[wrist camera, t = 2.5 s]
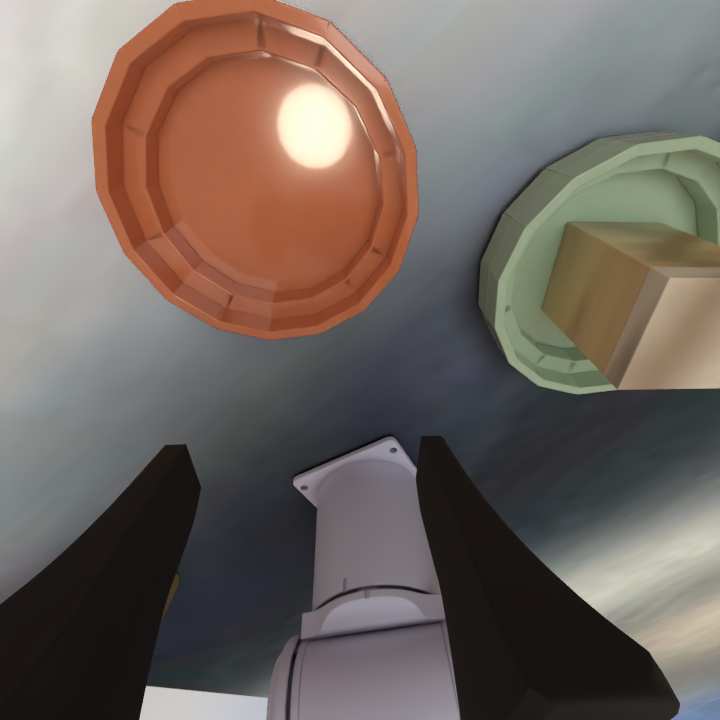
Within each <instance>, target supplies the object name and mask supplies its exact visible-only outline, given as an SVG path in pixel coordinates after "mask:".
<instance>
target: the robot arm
mask: <svg viewBox="0 0 720 720" xmlns="http://www.w3.org/2000/svg"><path fill="white" fill-rule="evenodd" d="M391 448H394V449H391ZM293 485H294V486H295V487H296V488H297V489H298V490H299V491H300V492H301V493H302V494H303V495H304V496H305V497H306V498H307V499H308V500H309V501H310V502H311V503H312V504H313V505H314V506H315V507H316V508H317V523H316V544H315V565H314V586H313V607H312V611H311V612H307V613H303V614H302V627H301V635H298V636H294V637H292V638H290V639H289V640H288V642H287V643H286V645H285V647H284V649H283V651H282V652H281V654H280V655H279V657H278V659H277V661H276V664H275V667H274V670H273V674H272V678H271V683H270V689H269V696H268V706H267V720H670V719H672V718H673V717H674V716H675V715H677V714H678V711H679V707H680V703H679V701H678V699H677V697H676V696H675V694H674V692H673V690H672V688H671V686H670V685H669V683H668V681H667V679H666V678H665V676H664V674H663V673H662V671H661V669H660V668H659V667H658V665H657V664H656V662H655V661H654V659H653V658H652V656H651V654H650V653H649V651H647V650H646V649H645V648H643V647H642V646H641V645H639V644H638V643H637V642H636V641H634V640H633V639H632V638H630V637H629V636H628V635H626V634H625V633H624V632H622V631H621V630H620V629H618V628H617V627H616V626H615V625H613V624H612V623H611V622H609V621H608V620H607V619H606V618H604V617H603V616H602V615H601V614H600V613H598V612H597V611H596V610H595V609H594V608H592V607H591V606H590V605H589V604H588V603H587V602H585V601H584V600H583V599H582V598H581V597H579V596H578V595H577V594H576V593H575V592H574V591H573V590H572V589H571V588H569V587H568V586H567V585H566V584H565V583H564V582H563V581H562V580H561V579H560V578H558V577H557V576H556V575H555V574H554V573H553V572H552V571H551V570H550V569H549V568H548V567H546V566H545V565H544V564H543V563H542V562H541V561H540V560H539V559H538V558H537V557H536V556H535V555H534V554H533V553H532V552H531V551H530V550H529V549H528V548H527V546H526V545H525V544H524V543H523V542H522V541H521V540H520V539H519V538H518V537H517V536H516V535H515V534H514V533H513V531H512V530H511V529H510V528H509V527H508V526H507V525H506V523H505V522H504V521H503V520H502V519H501V518H500V516H499V515H498V514H497V513H496V512H495V510H494V509H493V508H492V507H491V506H490V504H489V503H488V502H487V500H486V499H485V498H484V497H483V495H482V494H481V493H480V491H479V490H478V489H477V487H476V486H475V485H474V483H473V482H472V481H471V479H470V478H469V476H468V475H467V474H466V472H465V471H464V469H463V468H462V466H461V465H460V463H459V462H458V461H457V459H456V457H455V456H454V454H453V453H452V451H451V450H450V448H449V446H448V445H447V443H446V442H445V440H444V438H443V437H442V436H421V443H420V450H419V457H418V465H417V468H416V466H415V465H414V464H413V462H412V461H411V459H410V458H409V457H408V455H407V454H406V452H405V451H404V450H403V448H402V447H401V445H400V444H399V442H398V441H397V440H396V439H395V438H394V437H386V438H383V439H381V440H379V441H376V442H374V443H372V444H369V445H367V446H365V447H362V448H360V449H358V450H355V451H353V452H351V453H348V454H346V455H344V456H341V457H339V458H337V459H334V460H332V461H330V462H327V463H325V464H323V465H320V466H318V467H316V468H313V469H311V470H309V471H307V472H304V473H302V474H300V475H297V476H295V477H294V479H293ZM303 485H305V486H303ZM200 490H201V486H200V483H199V480H198V477H197V474H196V472H195V469H194V466H193V463H192V460H191V457H190V454H189V452H188V449H187V446H186V444H184V445H165V446H164V447H163V448H162V449H161V450H160V452H159V453H158V454H157V455H156V456H155V457H154V458H153V459H152V460H151V462H150V463H149V464H148V465H147V466H146V467H145V468H144V470H143V471H142V472H141V473H140V474H139V475H138V476H137V477H136V479H135V480H134V481H133V482H132V483H131V484H130V485H129V486H128V487H127V488H126V490H125V491H124V492H123V493H122V494H121V495H120V496H119V497H118V498H117V499H116V500H115V501H114V502H113V504H112V505H111V506H110V507H109V508H108V509H107V510H106V511H105V512H104V513H103V514H102V515H101V516H100V517H99V518H98V519H97V520H96V521H95V522H94V523H93V524H92V525H91V526H90V527H89V528H88V529H87V530H86V531H85V532H84V533H83V534H82V535H81V536H80V537H79V538H78V539H77V540H76V541H75V542H74V543H72V544H71V545H70V546H69V547H68V548H67V549H66V550H65V551H64V552H63V553H62V554H61V555H59V556H58V557H57V558H56V559H55V560H54V561H53V562H52V563H50V564H49V565H48V566H47V567H46V568H45V569H44V570H42V571H41V572H40V573H39V574H38V575H36V576H35V577H34V578H33V579H32V580H30V581H29V582H28V583H27V584H25V585H24V586H23V587H22V588H20V589H19V590H18V591H17V592H15V593H14V594H13V595H12V596H10V597H9V598H8V599H7V600H5V601H4V602H3V603H2V604H0V720H139V718H140V713H141V707H142V703H143V698H144V693H145V688H146V683H147V679H148V674H149V670H150V665H151V661H152V657H153V652H154V648H155V644H156V640H157V636H158V631H159V627H160V623H161V619H162V615H163V611H164V608H165V605H166V602H167V598H168V595H169V592H170V589H171V586H172V583H173V581H174V578H175V575H176V572H177V569H178V566H179V563H180V560H181V558H182V555H183V552H184V549H185V546H186V543H187V540H188V537H189V534H190V531H191V528H192V525H193V522H194V519H195V514H196V510H197V505H198V500H199V495H200Z"/></svg>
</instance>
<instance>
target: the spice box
mask: <svg viewBox="0 0 720 720" xmlns="http://www.w3.org/2000/svg"><path fill="white" fill-rule="evenodd" d="M541 310H542V311H543V312H544V313H545V314H546V315H547V316H548V317H549V318H550V319H551V320H552V322H553V323H554V324H555V325H556V326H557V327H558V328H559V329H560V330H561V331H562V332H563V333H564V334H565V335H566V336H567V337H568V338H569V339H570V340H571V341H572V342H573V343H574V344H575V346H576V347H577V348H578V349H579V350H580V351H581V352H582V353H583V354H584V355H585V356H586V357H587V358H588V359H589V360H590V361H591V362H592V363H593V364H594V365H595V366H596V367H597V369H598V370H599V371H600V372H601V373H602V374H604V376H605V377H606V378H607V379H608V381H609V382H610V383H611V384H612V385H613V386H614V387H615V388H616V389H617V390H637V389H701V388H720V246H719V245H717V244H714V243H712V242H709V241H706V240H704V239H701V238H699V237H696V236H694V235H691V234H689V233H686V232H683V231H681V230H678V229H676V228H673V227H671V226H668V225H665V224H663V223H660V222H567V224H566V227H565V231H564V234H563V237H562V241H561V244H560V247H559V251H558V254H557V258H556V261H555V264H554V268H553V271H552V274H551V278H550V281H549V285H548V288H547V291H546V295H545V298H544V301H543V305H542V308H541Z"/></svg>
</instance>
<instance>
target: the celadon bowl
mask: <svg viewBox="0 0 720 720" xmlns="http://www.w3.org/2000/svg"><path fill="white" fill-rule="evenodd" d="M567 222H660V223H663V224H665V225H668V226H671V227H673V228H676V229H678V230H681V231H683V232H686V233H689V234H691V235H694V236H696V237H699V238H701V239H704V240H706V241H709V242H712V243H714V244H717V245H719V246H720V142H717V141H715V140H712V139H710V138H707V137H705V136H700V135H691V134H681V133H672V132H663V131H649V132H641V133H634V134H626V135H619V136H611V137H604V138H600V139H597V140H595V141H594V142H592V143H590V144H588V145H586V146H584V147H583V148H581V149H579V150H577V151H575V152H574V153H572V154H570V155H568V156H566V157H564V158H563V159H561V160H559V161H557V162H555V163H554V164H552V165H550V166H548V167H546V168H545V169H544V170H543V171H542V172H541V173H540V174H539V175H538V176H537V177H536V179H535V180H534V181H533V182H532V183H531V184H530V185H529V186H528V187H527V188H526V189H525V190H524V191H523V192H522V193H521V195H520V196H519V197H518V198H517V199H516V200H515V201H514V202H513V203H512V204H511V205H510V206H509V207H508V208H507V209H506V210H505V212H504V214H503V215H502V217H501V219H500V221H499V223H498V225H497V227H496V230H495V232H494V234H493V236H492V238H491V240H490V243H489V245H488V247H487V249H486V251H485V253H484V256H483V258H482V261H481V267H480V284H479V302H478V304H479V307H480V310H481V312H482V314H483V317H484V319H485V321H486V324H487V326H488V328H489V331H490V333H491V335H492V338H493V339H494V341H495V342H496V344H497V345H498V347H499V349H500V350H501V352H502V353H503V355H504V356H505V358H506V359H507V361H508V363H509V364H510V365H512V366H513V367H514V368H516V369H517V370H518V371H519V372H521V373H522V374H523V375H525V376H526V377H527V378H528V379H530V380H531V381H532V382H534V383H535V384H536V385H538V386H541V387H545V388H550V389H554V390H559V391H564V392H568V393H573V394H585V393H594V392H602V391H611V390H617V389H616V388H615V387H614V386H613V385H612V384H611V383H610V382H609V381H608V379H607V378H606V377H605V376H604V374H602V373H601V372H600V371H599V370H598V369H597V367H596V366H595V365H594V364H593V363H592V362H591V361H590V360H589V359H588V358H587V357H586V356H585V355H584V354H583V353H582V352H581V351H580V350H579V349H578V348H577V347H576V346H575V344H574V343H573V342H572V341H571V340H570V339H569V338H568V337H567V336H566V335H565V334H564V333H563V332H562V331H561V330H560V329H559V328H558V327H557V326H556V325H555V324H554V323H553V322H552V320H551V319H550V318H549V317H548V316H547V315H546V314H545V313H544V312H543V311H542V310H541V308H542V305H543V301H544V298H545V295H546V291H547V288H548V285H549V281H550V278H551V274H552V271H553V268H554V264H555V261H556V258H557V254H558V251H559V247H560V244H561V241H562V237H563V234H564V231H565V227H566V224H567Z"/></svg>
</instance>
